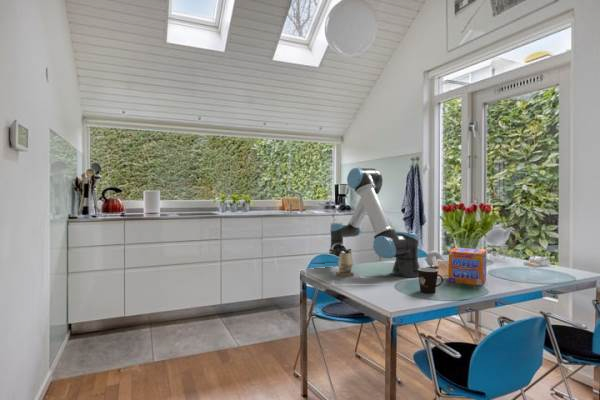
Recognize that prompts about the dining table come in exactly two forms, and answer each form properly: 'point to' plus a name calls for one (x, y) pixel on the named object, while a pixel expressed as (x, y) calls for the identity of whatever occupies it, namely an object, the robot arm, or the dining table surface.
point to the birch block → (345, 262)
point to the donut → (431, 255)
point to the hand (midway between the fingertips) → (343, 255)
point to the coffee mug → (428, 280)
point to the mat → (344, 275)
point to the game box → (467, 266)
